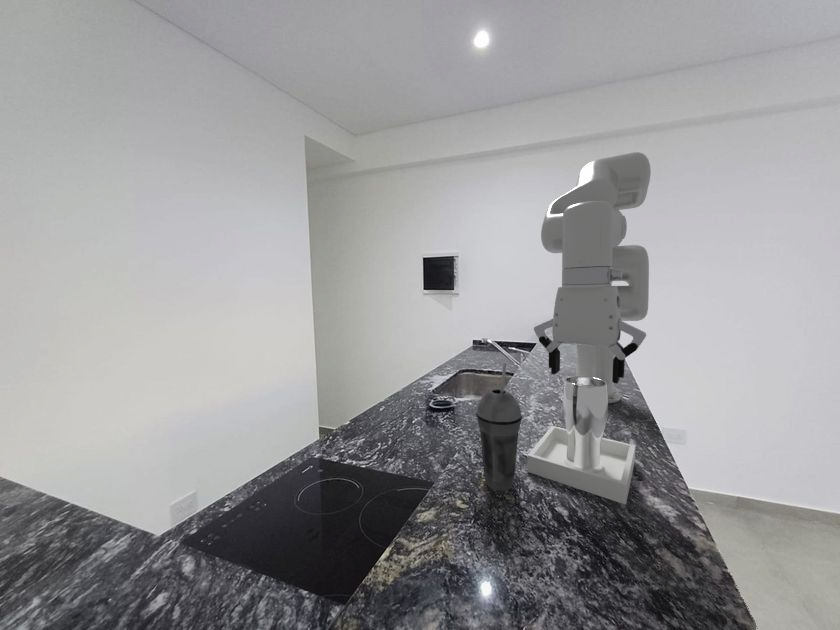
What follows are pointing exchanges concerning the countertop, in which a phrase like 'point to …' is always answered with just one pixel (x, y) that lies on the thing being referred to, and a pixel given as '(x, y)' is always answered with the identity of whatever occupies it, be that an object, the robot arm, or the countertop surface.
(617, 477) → the tray
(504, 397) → the beverage cup
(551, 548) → the countertop surface
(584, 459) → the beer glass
